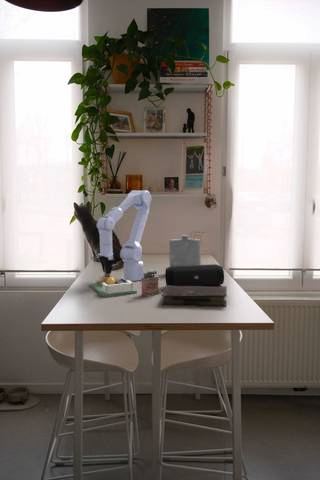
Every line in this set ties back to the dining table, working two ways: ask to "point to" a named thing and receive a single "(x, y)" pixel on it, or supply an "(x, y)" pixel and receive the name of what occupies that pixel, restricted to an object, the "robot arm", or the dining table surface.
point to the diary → (194, 296)
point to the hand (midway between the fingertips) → (107, 272)
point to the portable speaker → (195, 275)
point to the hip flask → (184, 251)
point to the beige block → (105, 277)
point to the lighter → (150, 284)
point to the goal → (117, 287)
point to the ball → (110, 281)
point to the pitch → (98, 288)
